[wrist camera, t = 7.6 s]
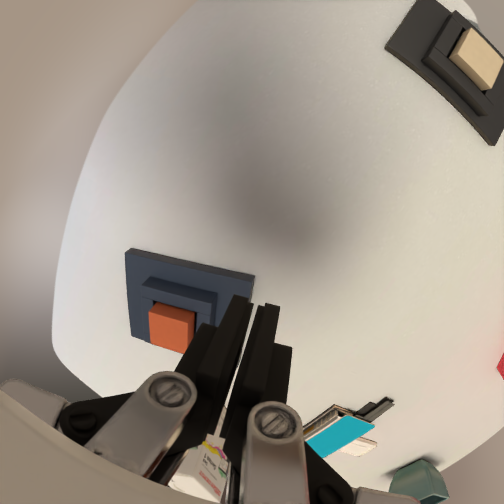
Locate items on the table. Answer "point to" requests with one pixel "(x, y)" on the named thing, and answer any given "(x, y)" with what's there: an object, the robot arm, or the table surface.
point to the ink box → (204, 468)
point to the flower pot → (420, 483)
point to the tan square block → (476, 59)
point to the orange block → (171, 327)
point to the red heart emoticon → (501, 366)
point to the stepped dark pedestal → (448, 64)
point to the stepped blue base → (179, 289)
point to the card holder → (344, 429)
